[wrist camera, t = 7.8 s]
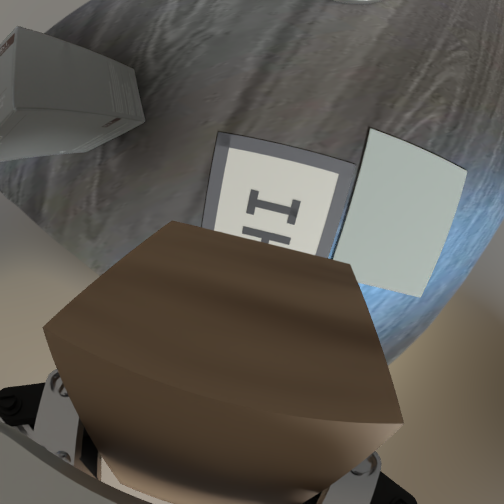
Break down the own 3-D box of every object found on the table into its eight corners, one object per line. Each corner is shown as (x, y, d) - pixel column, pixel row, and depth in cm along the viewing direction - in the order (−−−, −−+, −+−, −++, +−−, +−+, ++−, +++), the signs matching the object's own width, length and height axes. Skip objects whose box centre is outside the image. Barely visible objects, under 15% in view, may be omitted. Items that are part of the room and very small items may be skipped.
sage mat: (367, 128, 21) (370, 128, 20) (462, 169, 21) (467, 171, 20) (326, 270, 27) (327, 275, 26) (417, 292, 26) (420, 297, 25)
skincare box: (88, 153, 24) (-38, 185, 10) (76, 96, 22) (-45, 98, 7) (151, 121, 23) (10, 123, 8) (137, 59, 20) (10, 21, 6)
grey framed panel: (221, 132, 23) (218, 132, 22) (353, 163, 23) (355, 164, 22) (197, 278, 29) (194, 283, 28) (308, 306, 29) (308, 311, 28)
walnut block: (172, 220, 9) (42, 327, 3) (350, 264, 9) (403, 423, 3) (165, 388, 13) (120, 483, 7) (278, 418, 12) (265, 522, 7)
